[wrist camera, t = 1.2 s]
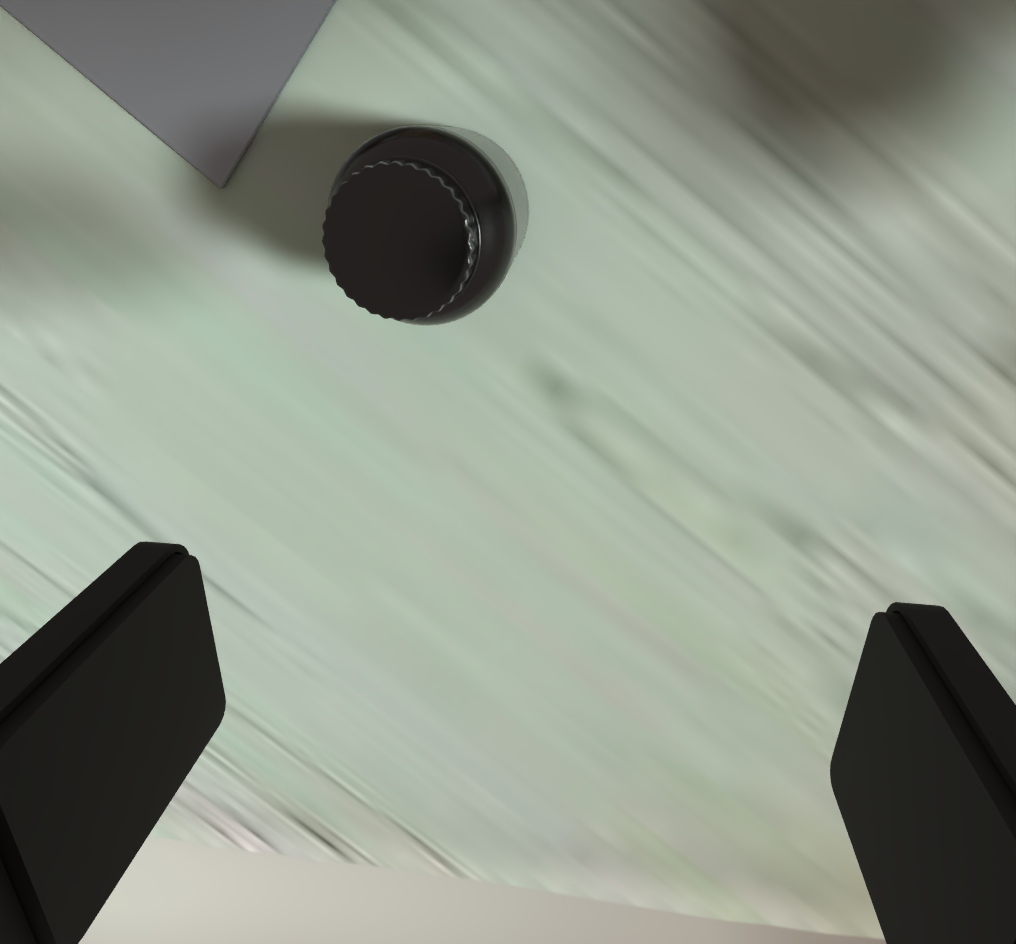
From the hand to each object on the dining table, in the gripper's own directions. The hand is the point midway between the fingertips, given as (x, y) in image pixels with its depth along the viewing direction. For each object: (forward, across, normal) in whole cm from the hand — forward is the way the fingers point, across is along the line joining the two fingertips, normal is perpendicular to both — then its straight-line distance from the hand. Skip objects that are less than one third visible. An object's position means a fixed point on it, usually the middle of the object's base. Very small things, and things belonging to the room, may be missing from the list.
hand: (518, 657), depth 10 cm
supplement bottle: (+27, +6, -3) cm, 27 cm away
